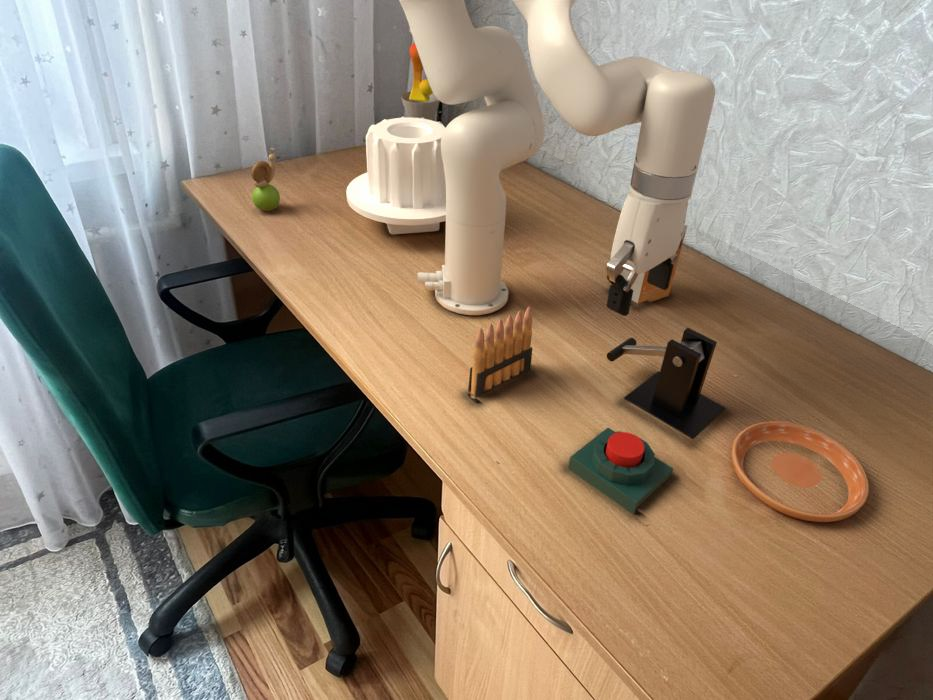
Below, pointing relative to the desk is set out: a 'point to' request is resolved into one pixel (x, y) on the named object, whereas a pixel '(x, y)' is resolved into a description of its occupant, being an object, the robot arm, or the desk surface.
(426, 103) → the lava lamp
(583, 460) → the button block
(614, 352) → the lever
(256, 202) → the snail figurine
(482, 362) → the ammunition clip
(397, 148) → the ribbed cylinder on disc
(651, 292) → the small box
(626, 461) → the button
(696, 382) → the stand
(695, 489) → the desk surface
